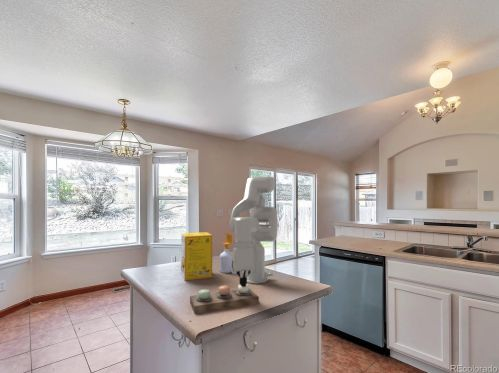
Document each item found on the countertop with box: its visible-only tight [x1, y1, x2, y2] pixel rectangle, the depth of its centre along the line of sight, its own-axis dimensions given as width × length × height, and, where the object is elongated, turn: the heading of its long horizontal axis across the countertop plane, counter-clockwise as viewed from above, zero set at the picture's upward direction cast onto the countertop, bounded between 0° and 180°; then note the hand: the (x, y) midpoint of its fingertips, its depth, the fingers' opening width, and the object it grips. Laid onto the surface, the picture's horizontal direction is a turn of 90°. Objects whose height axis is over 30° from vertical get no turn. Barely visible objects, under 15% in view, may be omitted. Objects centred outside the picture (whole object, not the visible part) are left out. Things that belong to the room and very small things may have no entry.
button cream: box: [237, 283, 250, 293], centre depth 118 cm, size 5×5×2 cm
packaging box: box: [180, 231, 213, 281], centre depth 159 cm, size 16×16×25 cm
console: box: [189, 288, 260, 315], centre depth 114 cm, size 28×12×4 cm, turn 111°
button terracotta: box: [218, 285, 231, 295], centre depth 114 cm, size 5×5×2 cm
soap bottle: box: [219, 232, 233, 274], centre depth 168 cm, size 9×9×25 cm
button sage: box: [197, 288, 210, 299], centre depth 111 cm, size 5×5×2 cm
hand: (243, 285), depth 117 cm, fingers closed
